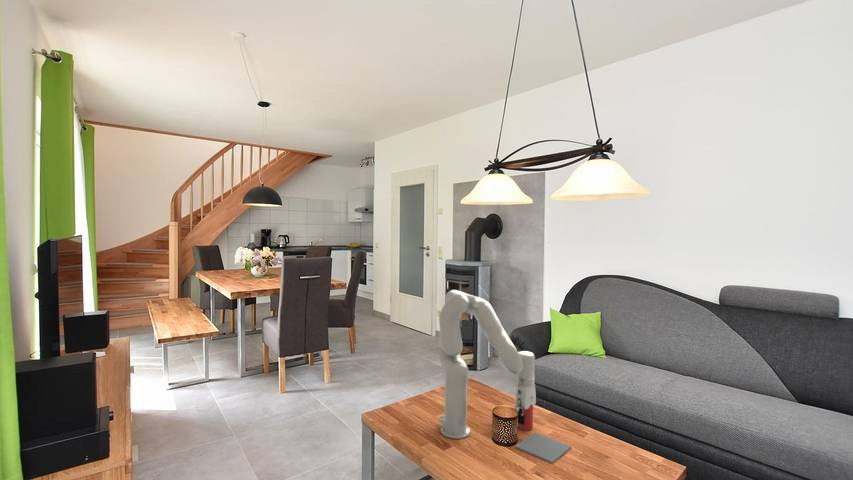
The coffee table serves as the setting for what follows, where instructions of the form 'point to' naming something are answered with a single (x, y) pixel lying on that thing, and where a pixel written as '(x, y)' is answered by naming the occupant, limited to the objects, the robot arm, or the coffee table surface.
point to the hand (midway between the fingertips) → (525, 420)
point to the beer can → (527, 419)
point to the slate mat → (543, 447)
